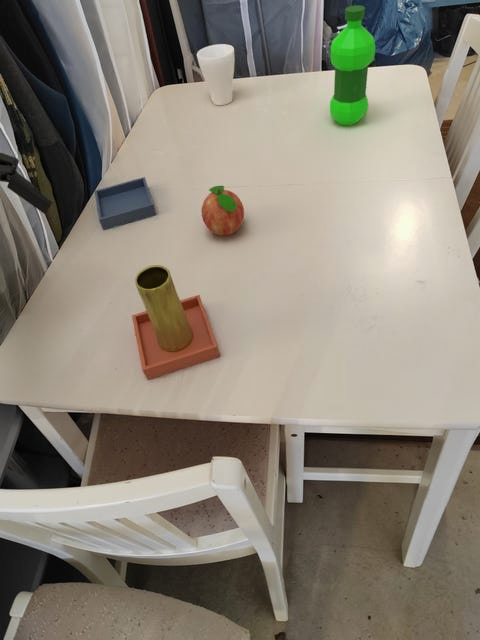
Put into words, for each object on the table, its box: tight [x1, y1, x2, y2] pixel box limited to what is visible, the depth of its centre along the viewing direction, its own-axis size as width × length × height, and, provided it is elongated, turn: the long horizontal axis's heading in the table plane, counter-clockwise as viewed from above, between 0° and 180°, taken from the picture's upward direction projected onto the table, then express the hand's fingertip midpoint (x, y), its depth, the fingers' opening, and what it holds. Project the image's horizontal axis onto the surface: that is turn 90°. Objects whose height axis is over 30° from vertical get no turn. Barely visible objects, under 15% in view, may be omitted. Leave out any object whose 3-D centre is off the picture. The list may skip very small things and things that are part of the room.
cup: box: [196, 43, 236, 106], centre depth 127 cm, size 10×10×14 cm
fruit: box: [201, 185, 245, 237], centre depth 89 cm, size 9×10×10 cm
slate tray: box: [94, 176, 157, 231], centre depth 101 cm, size 12×12×3 cm
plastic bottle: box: [329, 5, 376, 127], centre depth 106 cm, size 10×10×25 cm
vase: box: [134, 264, 193, 351], centre depth 69 cm, size 6×6×14 cm
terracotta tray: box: [131, 294, 221, 380], centre depth 74 cm, size 12×12×3 cm
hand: (23, 236), depth 65 cm, fingers open, 13 cm apart
